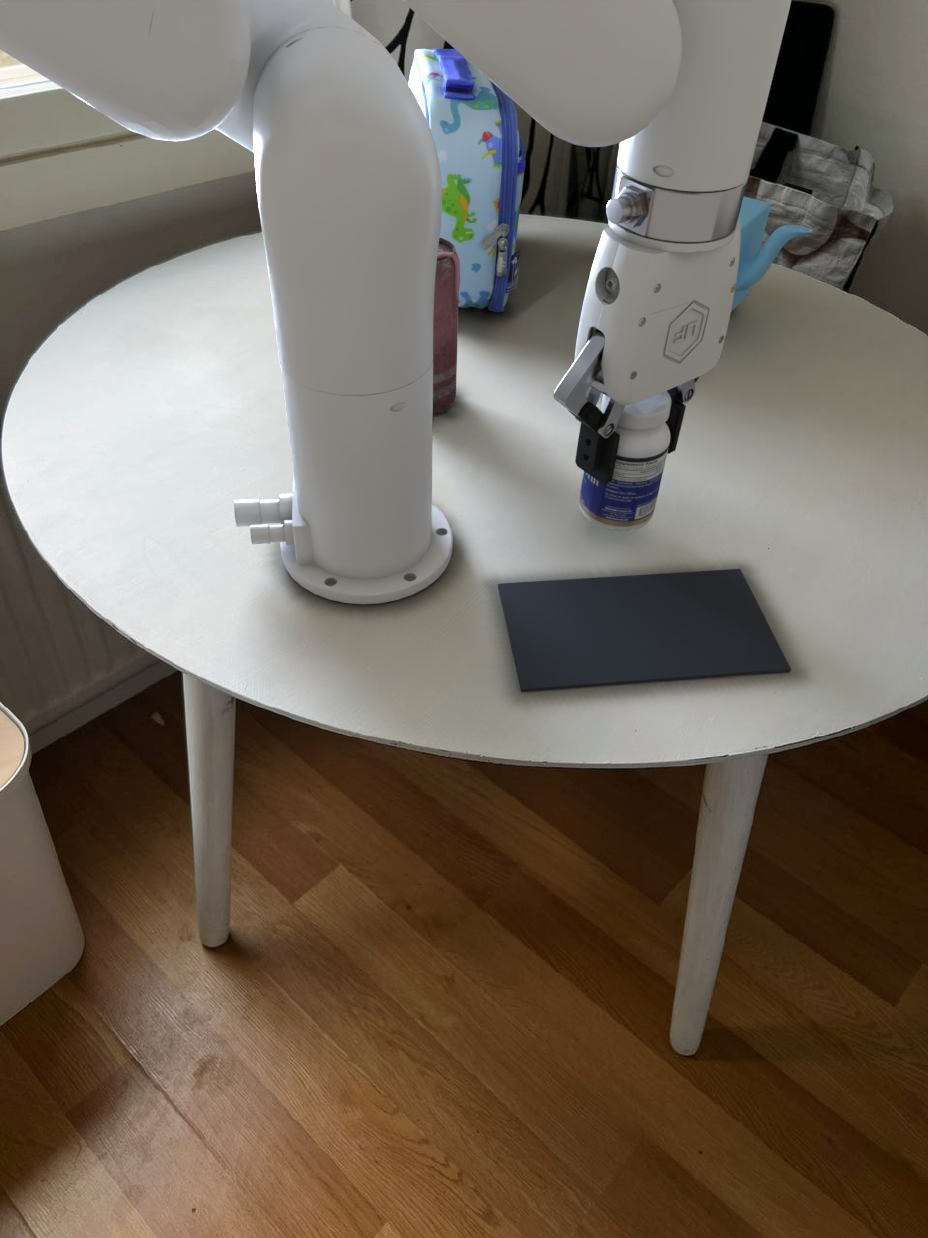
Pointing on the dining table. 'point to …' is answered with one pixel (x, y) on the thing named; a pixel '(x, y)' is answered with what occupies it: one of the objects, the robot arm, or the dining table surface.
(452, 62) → the lunch box
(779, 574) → the dining table surface
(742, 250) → the teapot
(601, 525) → the pill bottle
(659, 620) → the mat
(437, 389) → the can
